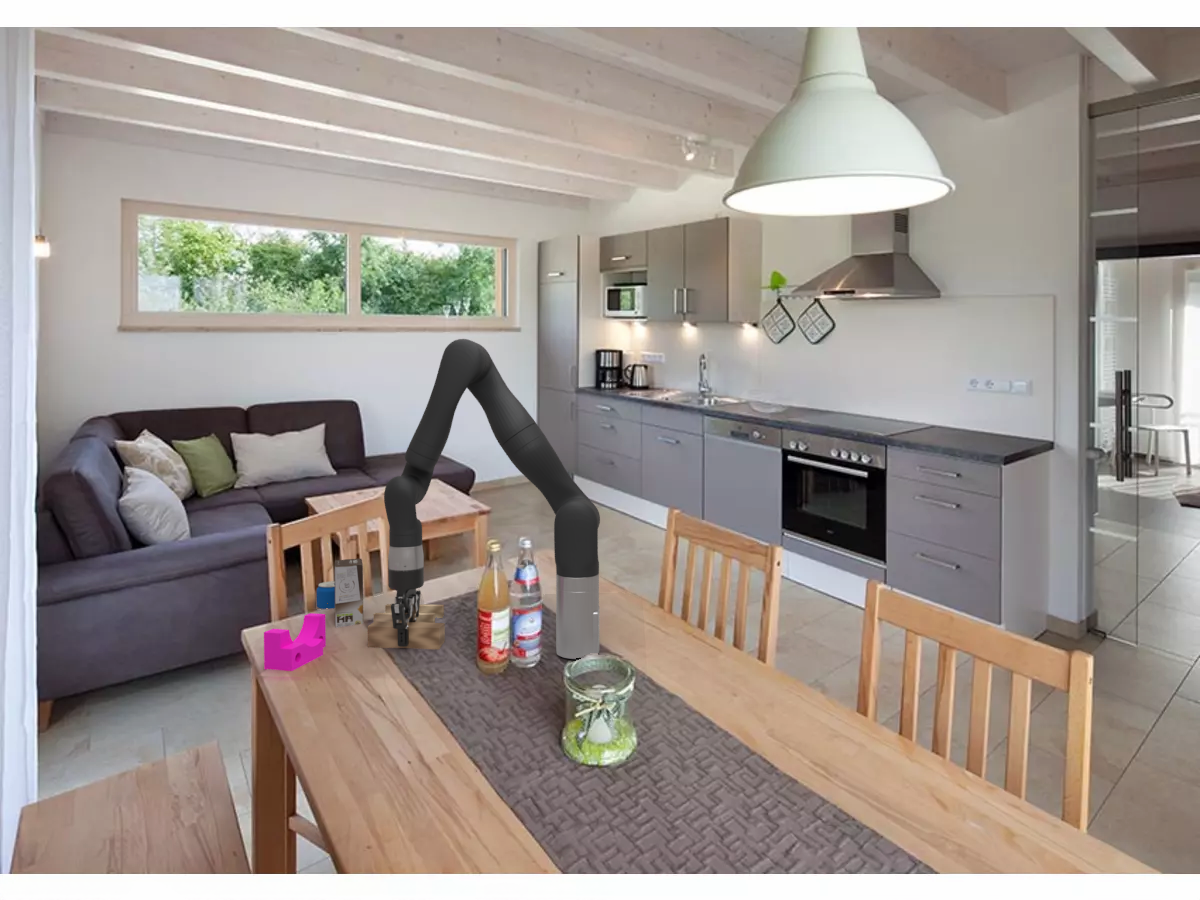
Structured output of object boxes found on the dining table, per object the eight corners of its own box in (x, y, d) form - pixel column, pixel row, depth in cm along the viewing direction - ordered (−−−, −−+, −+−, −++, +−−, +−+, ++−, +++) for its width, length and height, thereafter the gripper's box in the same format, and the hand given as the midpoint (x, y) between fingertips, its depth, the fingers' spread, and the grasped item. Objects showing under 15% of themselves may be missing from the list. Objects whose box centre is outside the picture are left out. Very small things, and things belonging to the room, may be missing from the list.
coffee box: (363, 632, 166) (363, 564, 165) (334, 635, 163) (334, 566, 163) (362, 622, 174) (362, 557, 174) (335, 624, 172) (334, 559, 172)
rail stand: (449, 623, 174) (449, 602, 173) (435, 638, 161) (435, 616, 160) (385, 622, 174) (385, 602, 174) (366, 637, 161) (366, 616, 161)
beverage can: (347, 627, 181) (347, 580, 180) (339, 634, 174) (338, 586, 174) (322, 627, 181) (322, 580, 180) (312, 634, 174) (312, 586, 174)
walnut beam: (444, 645, 157) (444, 622, 156) (439, 650, 153) (439, 628, 152) (375, 643, 158) (374, 621, 158) (367, 649, 154) (367, 626, 154)
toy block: (291, 671, 139) (291, 634, 139) (264, 669, 140) (263, 632, 140) (335, 648, 154) (335, 614, 153) (310, 646, 155) (310, 613, 155)
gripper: (413, 572, 147) (413, 653, 148) (431, 559, 162) (432, 633, 162) (377, 572, 148) (378, 652, 148) (399, 559, 162) (400, 633, 162)
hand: (406, 642), depth 155 cm, fingers closed on walnut beam, 4 cm apart
